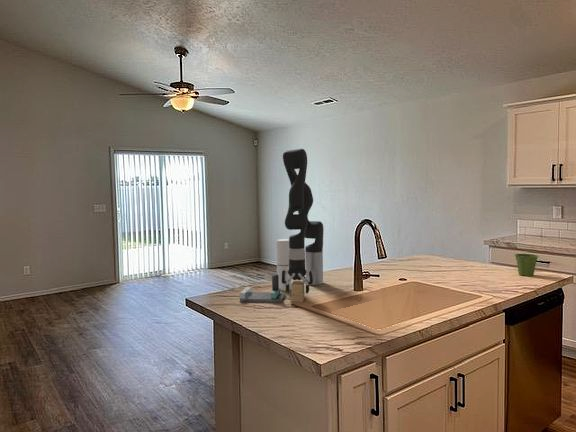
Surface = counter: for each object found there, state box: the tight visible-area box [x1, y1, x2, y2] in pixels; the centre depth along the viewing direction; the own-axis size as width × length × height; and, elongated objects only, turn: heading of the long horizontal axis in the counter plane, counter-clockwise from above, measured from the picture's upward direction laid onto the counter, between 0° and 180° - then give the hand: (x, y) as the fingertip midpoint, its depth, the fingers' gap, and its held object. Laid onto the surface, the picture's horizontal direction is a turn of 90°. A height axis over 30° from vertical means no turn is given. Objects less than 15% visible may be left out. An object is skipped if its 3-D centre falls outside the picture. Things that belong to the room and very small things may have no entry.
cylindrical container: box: [275, 238, 292, 291], centre depth 219 cm, size 7×7×25 cm
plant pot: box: [514, 253, 540, 277], centre depth 240 cm, size 12×12×11 cm
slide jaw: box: [270, 273, 281, 298], centre depth 200 cm, size 11×3×10 cm, turn 170°
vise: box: [239, 286, 286, 304], centre depth 202 cm, size 12×19×4 cm, turn 80°
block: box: [290, 280, 306, 303], centre depth 199 cm, size 8×5×8 cm, turn 170°
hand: (297, 292), depth 199 cm, fingers open, 8 cm apart
